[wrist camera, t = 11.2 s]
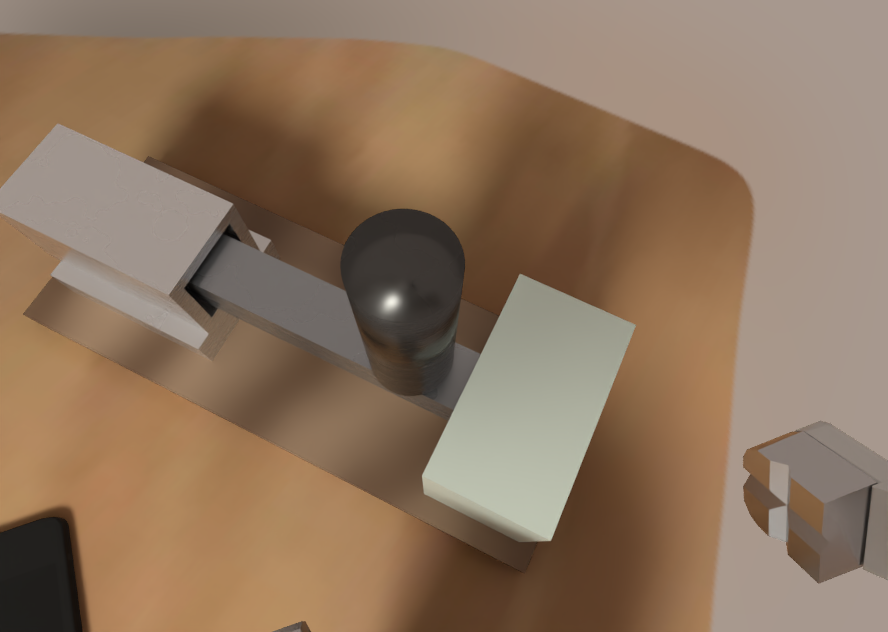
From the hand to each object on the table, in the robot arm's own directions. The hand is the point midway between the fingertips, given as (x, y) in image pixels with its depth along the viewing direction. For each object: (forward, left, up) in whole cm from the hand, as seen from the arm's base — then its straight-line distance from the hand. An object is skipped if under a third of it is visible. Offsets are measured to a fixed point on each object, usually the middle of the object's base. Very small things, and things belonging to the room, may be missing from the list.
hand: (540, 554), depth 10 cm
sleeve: (-19, +5, -16) cm, 25 cm away
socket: (-1, +5, -16) cm, 17 cm away
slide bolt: (-8, +5, -13) cm, 16 cm away
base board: (-11, +5, -17) cm, 21 cm away
